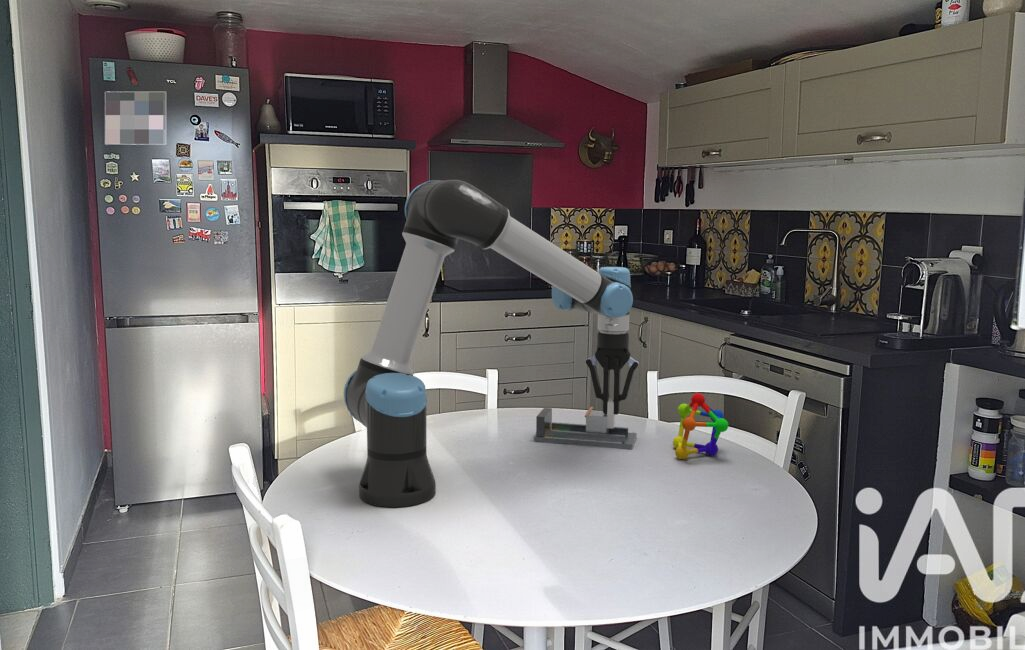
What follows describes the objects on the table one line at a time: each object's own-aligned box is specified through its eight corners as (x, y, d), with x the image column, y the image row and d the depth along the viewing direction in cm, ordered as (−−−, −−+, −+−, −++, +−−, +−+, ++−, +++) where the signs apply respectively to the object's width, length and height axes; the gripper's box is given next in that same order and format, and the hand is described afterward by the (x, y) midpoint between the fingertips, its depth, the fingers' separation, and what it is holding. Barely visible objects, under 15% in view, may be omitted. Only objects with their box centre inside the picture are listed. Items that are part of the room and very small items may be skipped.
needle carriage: (584, 438, 197) (584, 415, 196) (590, 428, 206) (590, 406, 205) (604, 439, 196) (605, 417, 195) (610, 429, 205) (610, 407, 204)
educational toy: (734, 467, 185) (740, 404, 181) (678, 468, 184) (682, 405, 180) (713, 441, 200) (718, 382, 196) (661, 442, 199) (665, 383, 195)
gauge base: (533, 441, 200) (534, 416, 199) (542, 430, 210) (542, 407, 209) (632, 449, 194) (633, 424, 193) (636, 437, 204) (637, 413, 203)
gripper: (583, 332, 194) (581, 428, 198) (638, 335, 191) (635, 433, 195) (588, 328, 202) (586, 421, 205) (642, 330, 198) (639, 425, 202)
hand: (610, 426), depth 200 cm, fingers closed
